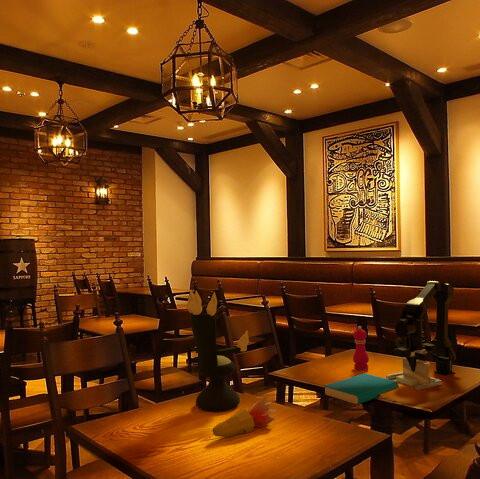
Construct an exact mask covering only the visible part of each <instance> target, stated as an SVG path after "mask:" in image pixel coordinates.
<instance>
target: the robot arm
mask: <svg viewBox="0 0 480 479" xmlns="http://www.w3.org/2000/svg"><path fill="white" fill-rule="evenodd" d="M454 293H455V289H454V287H453V286H452V284H451V283H443V282H439V281H435V280H434V281H433V280H432V281H431V280H429V281H427V282H426V285H425V286H424V287H423V288H422V290H421V291H420V292H419V294H418V295H416V297H415V298H413V299H410V300H408V301H407V302H406V303H405V305H404V306H403V308H402V311H401V314H400V318H399V320H398V323H396V325H395V327H394V332H395V334H396V335H397V336H398V337H397V338H394V345H395V346H396V347H397V348H394V349H393V356H396V357H400V358H402V359H403V358H406V359H407V360H408V363H409V365H410V368H411V370H412V372H415V367H416V361H417V359H418V360H421V361H425V362H427V359H428V357H429V356H430V355H431V357H432V359H435V361H436V362H435V370H433V372H434V373H436V374H440V375H443V376H447V375H452V374H456V371H454V370H453V362H454V361H456V359H457V353H456V352H455V350H454V349H453V348H452V344H453V343H452V342H451V340H450V338H449V304H450V303H451V301H452V300H453V297H454ZM432 298H433V299H434V301H435V303H436V311H435V313H436V318H435V320H436V321H435V336H434V337H433V339H431V340H430V343H428V342H425V343H424V342H423V341H424V339H425V338H426V336H425V335H423V322H424V321H425V319H424V318H423V316H424V315H425V313H426V312H427V308H426V306H427V305H428V304H429V302H430V301H431V300H432ZM428 351H429V352H430V353H431V354H430V353H428Z"/></svg>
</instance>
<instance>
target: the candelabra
mask: <svg viewBox="0 0 480 479" xmlns="http://www.w3.org/2000/svg"><path fill="white" fill-rule="evenodd" d="M217 306H218V299H217V296H216V292H215V291H213V294H212V296H211V298H210V301H209V302H208V304H207V306H206V313H202V311H203V306H202V298H201V296H200V294H199V293H198V291H197V290H195V293H194V292H193V291H192V289H190V290H189V297H188V300H187V305H186V309H187V310H188V312H189V322H190V326H191V331H192V335H193V339H194V344H195V353H196V354H197V360H198V367H197V370H198V373H199V375H201V376H202V377H205V378H209V380H208V384H206V386H205V387H204V388H203V390H201V391H200V392H199V393H198V395H197V397H196V399H195V406H197V408H198V409H199V410H201V411H206V412H211V413H218V412H225V411H226V412H227V411H229V410H233V409H234V408H235V409H236V408H237V407H238V405H239V404H240V402H241V399H240V396H239V394H238V393H237V392H236V391H235V389H233V388H232V387H231V386H230V385H228V383H227V382H226V377H229V376H230V375H232V374H233V373H234V372H235V369H236V365H235V363H234V362H233V361H232V360H231V359H230V358H228V357H226V356H228V355H234V354H239V353H240V352H246V351H247V350H248V348H247V347H248V344H249V343H250V338H249V330H248V329H247V330H246V331H245V332H244V333H243V334H242V335H241V336H240V338H239V339H238V342H237V344H236V346H232V347H227V348H222V349H217V318H216V316H215V314H216V313H217Z"/></svg>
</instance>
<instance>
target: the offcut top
mask: <svg viewBox="0 0 480 479" xmlns="http://www.w3.org/2000/svg"><path fill="white" fill-rule="evenodd" d="M395 379H396V380H395V381H397V383H399V382H400V384H402V383H403V385H405V384H406V385H405V386H408V385H410V386H409V387H411V386H414V385H417V384H419V383H418V381H417V379H413V378H410V377H407V376H403V375H401V376H396V378H395Z"/></svg>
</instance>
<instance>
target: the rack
mask: <svg viewBox="0 0 480 479" xmlns="http://www.w3.org/2000/svg"><path fill="white" fill-rule="evenodd" d="M401 375H403V371H401V372H396V373H391V374H386V375H385V379H389V380H394V379H396V376H401ZM430 380H431V382H426V383H422V384H419V383H418V384H417V385H415V387H414V390H416V391H419V390H423V389H427V388H432V387H436V386H442V385H443V384H442V383H443V382H442V380H440V379H439V378H435V377H431V376H430Z"/></svg>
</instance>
